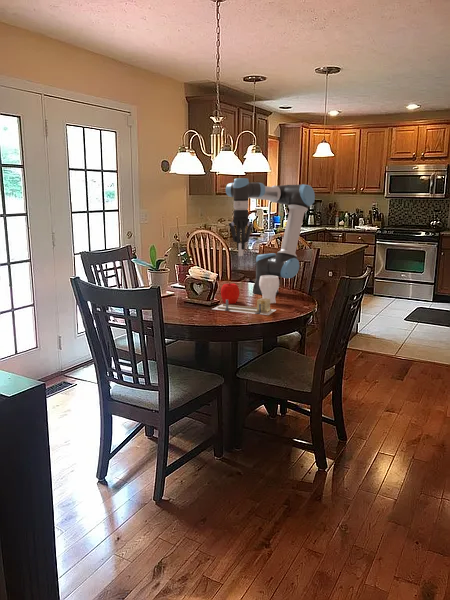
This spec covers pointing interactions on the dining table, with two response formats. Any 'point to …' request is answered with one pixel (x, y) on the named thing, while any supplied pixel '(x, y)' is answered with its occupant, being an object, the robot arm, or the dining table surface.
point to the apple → (230, 293)
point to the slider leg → (263, 305)
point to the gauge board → (241, 309)
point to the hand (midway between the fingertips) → (240, 255)
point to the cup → (269, 287)
